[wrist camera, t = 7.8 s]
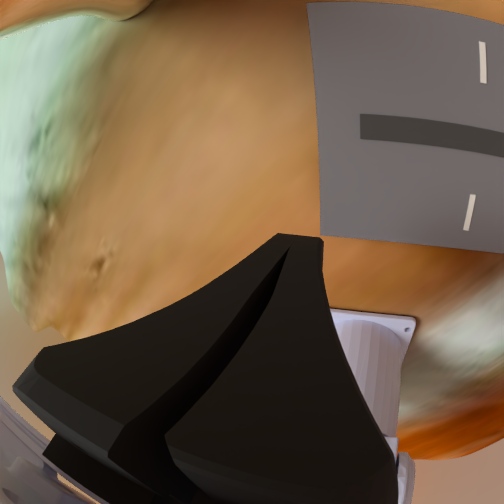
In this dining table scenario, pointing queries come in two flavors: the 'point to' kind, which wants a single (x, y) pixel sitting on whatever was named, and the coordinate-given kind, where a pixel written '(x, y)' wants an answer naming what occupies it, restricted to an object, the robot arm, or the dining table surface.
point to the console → (409, 124)
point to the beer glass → (61, 12)
